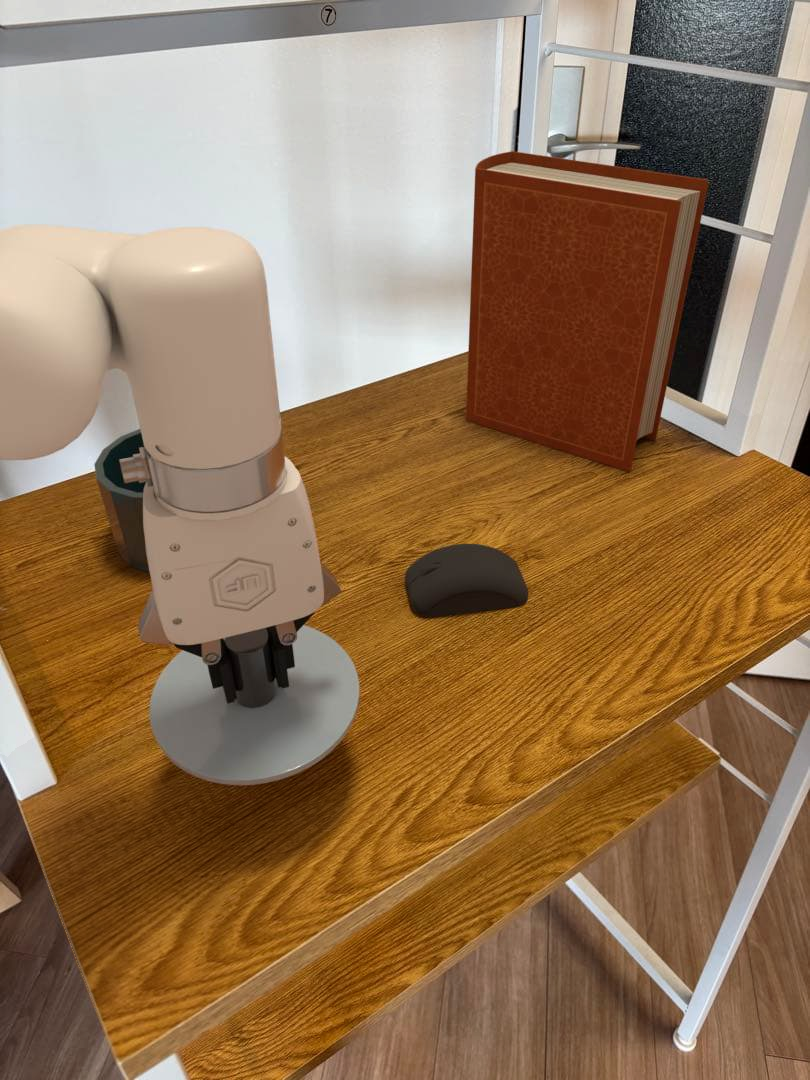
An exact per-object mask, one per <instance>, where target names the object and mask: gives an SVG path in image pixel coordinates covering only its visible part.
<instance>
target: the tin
mask: <svg viewBox="0 0 810 1080" xmlns="http://www.w3.org/2000/svg"><path fill="white" fill-rule="evenodd" d="M140 447H144V443H143V438H142V434H141V429H140V428H138V429H136V430H133V431H130V432H127V433H126V434H125V433H124V434H123V435H121V436H120V437H118V438H117V439H114V441H112V442H111V443H110V444H109V445H107V446H106V447H104V448H103V449H102V450H101V452H100V454H99V456H98V457H97V458H96V461H95V462H94V472H95V478H96V483H97V486H98V490H99V492H100V496H101V499H102V503H103V506H104V509H105V513H106V517H107V520H108V523H109V526H110V530H111V534H112V536H113V540H114V543H115V547H116V550H117V553H118V554H119V555H120V557H121V559H122V560H123V561H124V562H125V563H127V564H128V565H129V566H131V567H132V568H133V569H136V570H137V571H141V572H144V573H147V574H150V571H149V566H148V560H147V554H146V545H145V535H144V527H143V491H144V487H145V484H146V482H143V483H139V481H135V482H130V483H125V482H124V478H123V474H122V470H121V466H120V461H119V460H120V459H126V458H131V457H133V455H134V454H140V450H139V448H140ZM144 448H145V447H144Z"/></svg>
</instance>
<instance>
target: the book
mask: <svg viewBox="0 0 810 1080" xmlns="http://www.w3.org/2000/svg"><path fill="white" fill-rule="evenodd" d="M709 182H710V179H706V178H700V177H699V178H698V177H692V176H686V175H685V176H684V175H679V174H672V173H664V172H658V171H652V170H644V169H637V168H631V167H624V166H617V165H610V164H605V163H603V164H602V163H595V162H589V161H583V160H577V159H568V158H562V157H555V156H548V155H541V154H536V153H535V154H533V153H528V152H521V151H514V150H510V151H505V152H501V153H496V154H492V155H490V156H488V157H486V158H483V159H481V160H480V161H479V162H478V163H477V164H476V166H475V169H474V189H473V191H474V195H473V198H474V199H473V219H472V246H471V247H472V249H471V270H470V271H471V272H470V302H469V324H468V325H469V327H468V349H467V350H468V353H467V377H466V378H467V380H466V402H465V403H466V406H465V421H467V422H470V423H473V424H476V425H480V426H483V427H486V428H489V429H492V430H495V431H499V432H502V433H505V434H509V435H512V436H514V437H518V438H520V439H523V440H526V441H531V442H533V443H537V444H539V445H542V446H546V447H550V448H553V449H555V450H559V451H561V452H566V453H568V454H572V455H575V456H578V457H581V458H585V459H588V460H590V461H594V462H597V463H600V464H603V465H607V466H609V467H612V468H616V469H619V470H622V471H624V472H628V473H631V472H632V467H633V463H634V457H635V452H636V446H637V441H638V440H639V439H641V438H643V439H646V440H650V441H654V442H656V440H657V437H658V431H659V426H660V422H661V416H662V412H663V407H664V403H665V398H666V392H667V387H668V383H669V378H670V372H671V368H672V363H673V358H674V354H675V349H676V343H677V339H678V334H679V329H680V323H681V319H682V314H683V309H684V304H685V301H686V300H685V299H686V295H687V290H688V285H689V280H690V276H691V271H692V266H693V265H692V264H693V261H694V255H695V251H696V246H697V242H698V236H699V230H700V227H701V221H702V217H703V211H704V208H705V207H704V206H705V201H706V197H707V192H708V188H709Z"/></svg>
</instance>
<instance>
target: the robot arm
mask: <svg viewBox="0 0 810 1080" xmlns="http://www.w3.org/2000/svg"><path fill="white" fill-rule="evenodd" d="M269 304H270V303H269V295H268V284H267V278H266V271H265V266H264V263H263V259H262V258H261V256H260V254H259V251H257V248H255V246H254V245H253V244H252V243H251V242H250V241H248V240H247V239H246V238H244V237H242V236H241V235H239V234H237V233H236V232H232V231H228V230H225V229H219V228H213V227H207V226H206V227H205V226H204V227H203V226H181V227H171V228H165V229H164V228H163V229H160V230H155V231H151V232H147V233H145V234H139V233H138V234H137V233H125V232H124V233H123V232H116V231H115V232H113V231H105V230H97V229H96V230H95V229H90V228H89V229H88V228H81V227H71V226H63V225H54V224H22V225H15V226H11V227H8V228H5V229H2V230H0V460H2V461H29V460H30V461H31V460H34V459H35V460H36V459H39V458H43V457H47V456H50V455H53V454H55V453H57V452H60V451H61V450H63V449H65V448H67V447H68V446H69V445H71V444H72V443H73V442H74V441H76V440H77V439H79V437H80V436H81V435H82V433H83V432H84V431H85V430H86V428H87V427H88V426H89V425H90V423H91V422H92V420H93V418H94V416H95V414H96V412H97V409H98V406H99V404H100V401H101V398H102V393H103V390H104V386H105V382H106V379H107V375H108V371H110V370H113V369H118V370H121V371H122V372H124V374H126V376H127V378H128V381H129V385H130V389H131V394H132V399H133V402H134V407H135V411H136V412H135V413H136V415H137V421H138V424H139V425H138V426H139V429H141V434H142V438H143V443H144V447H145V448H144V447H140V448H139V450H140V454H134V455H133V457H131V458H126V459H120V460H119V461H120V466H121V470H122V474H123V478H124V482H125V483H130V482H135V481H139V483H143V482H146V484H145V487H144V491H143V527H144V535H145V545H146V554H147V560H148V566H149V571H150V573H149V575H150V581H151V586H152V588H151V591H150V594H149V597H148V599H147V601H146V603H145V606H144V608H143V611H142V614H141V616H140V618H139V621H138V623H137V629H138V635H139V639H140V641H141V643H145V644H154V645H160V646H161V645H163V646H169V645H173V646H174V647H175V648H176V649H178V650H180V651H182V650H183V651H186V652H189V653H191V654H194V655H197V656H199V657H202V660H203V662H204V663H205V664H207V666H208V670H209V675H210V679H211V683H212V687H213V689H215V688H219V687H222V686H223V689H224V693H225V697H226V701H227V704H228V703H232V702H235V699H237V695H236V690H235V684H234V679H233V674H232V668H231V663H230V659H229V656H228V652H227V650H226V648H225V643H224V638H226V637H230V636H234V635H238V634H242V633H246V632H250V631H254V630H258V629H262V628H266V629H267V630H268V632H269V636H270V644H271V651H272V658H273V665H274V673H275V678H276V681H277V684H278V687H281V688H282V689H283V688H287V687H289V681H288V673H287V669H290V668H294V667H295V662H294V654H293V645H292V644H293V643H294V642H295V641H296V640H297V631H298V630H299V629H300V628H301V627H302V626H303V625H305V624H306V623H307V622H308V621H309V620H310V619H311V618H312V617H313V616H314V615H315V613H316V611H318V610H319V609H320V608H322V607H323V606H325V605H326V604H328V603H329V602H331V601H332V600H334V599H335V598H336V597H338V596H339V595H340V594H341V592H342V589H341V586H340V584H339V582H338V581H337V579H336V576H335V575H334V574H333V573H332V571H331V570H329V568H328V567H327V566H326V565H325V564H324V563H323V562H322V561H321V557H320V551H319V544H318V539H317V533H316V528H315V523H314V518H313V513H312V509H311V505H310V500H309V496H308V493H307V490H306V487H305V485H304V482H303V479H302V476H301V474H300V473H301V472H299V470H298V469H297V468H296V466H295V465H294V463H293V462H292V461H291V459H289V457H287V456H286V455H285V449H284V447H285V446H284V438H283V429H282V420H281V409H280V400H279V389H278V382H277V380H278V379H277V373H276V362H275V353H274V343H273V342H274V341H273V332H272V324H271V322H272V321H271V314H270V305H269Z"/></svg>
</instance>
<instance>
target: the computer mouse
mask: <svg viewBox="0 0 810 1080" xmlns="http://www.w3.org/2000/svg"><path fill="white" fill-rule="evenodd" d="M404 581H405V585H406V589H407V593H408V597H409V600H410V605H411V608H412V609H413V611H414V612H415V613H416V614H418V615H419V616H422V617H424V618H438V617H446V616H455V615H460V614H468V613H476V612H477V613H478V612H485V611H493V610H494V611H495V610H500V609H510V608H516V607H521V606H523V605H524V604H526V603H527V602H528V598H529V589H528V586H527V583H526V581H525V578H524V576H523V574H522V572H521V569H520V567H519V564H518V563H517V561H516V560H515V559H514V558H513V557H512V556H511V555H509V554H507V553H505V552H504V551H502V550H499V549H497V548H495V547H492V546H488V545H484V544H479V543H457V544H451V545H445V546H442V547H440V548H436V549H434V550H431V551H429V552H428V553H426V554H423V555H422V556H421V557H419V558H418V559H416V561H414V562H412V564H411V565H409V566H408V568H407V569H406V571H405V574H404Z"/></svg>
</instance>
